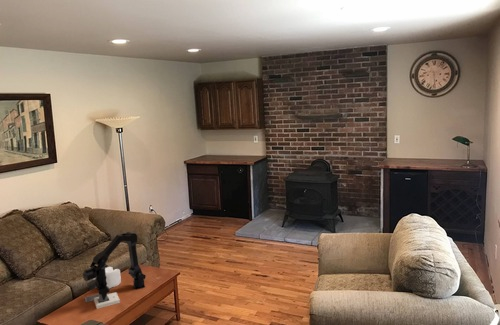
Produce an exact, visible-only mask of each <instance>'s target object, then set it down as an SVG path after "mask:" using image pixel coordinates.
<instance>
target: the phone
mask: <svg viewBox="0 0 500 325" xmlns="http://www.w3.org/2000/svg"><path fill="white" fill-rule="evenodd" d="M108 294H109V293H107V295H108ZM96 297H99V293H97V294H93V295H89V296H85V297H84V301H85V303H89V302H94V298H96Z"/></svg>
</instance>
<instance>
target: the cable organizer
mask: <svg viewBox="0 0 500 325" xmlns="http://www.w3.org/2000/svg"><path fill="white" fill-rule="evenodd" d="M113 268H114V267H112V266H108V267H105V273H106V278H107V279H106V282H107V285H106V286H108V287H109V290H111V288H114V287H117V286H118V285H120V284H121V282H122V278H121V276H122V275H121V270H120V269H119V268H115V269H113ZM95 279H96V278H93V279H92V280H95ZM95 289H98V288H97V287H95Z"/></svg>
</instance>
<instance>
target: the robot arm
mask: <svg viewBox="0 0 500 325" xmlns="http://www.w3.org/2000/svg"><path fill="white" fill-rule="evenodd" d="M122 242H125V243H126V244H127V247H128V254H129V260H130V266H129V267H128V268H127V270H128V275H129V276H131V277H132V279H133V281H132V285H133V288H134V289H135V290H139V289H143V288H146V285H145V279H146V276H147V275H146V274H144V273H143V271H142V267H140V265H139V261H138V253H137V243H138V235H137V233H135V232H131V231H126V232H125V233H124V232H123V233H120V234H118V233H117V234H116V235H115V237H114V238H113V239H112V240H111V242H109V244H107V246H106V247H105V248H104V249H103V250H101V252H98V253H97V254H96V255H95V256H93V257H92V258H93V259H92V262H91V264H90V265H89V268H87V269H84V271H83V273H82V278H83V280H84V281H85V282H88V281H89V282H88V283H86V286H87V288H88V289H89V291H92V290H93V289H97V292H98V293H97V294H101V295H102V298H103V300H105V298H106V295H107V294H109V293H111V292H110V289H109V287H108V286H106V285H107V282H106V279H107V278H106V273H105V268H107V267H109V265H108V264H106V263H107V261H108V260H109V257H110V255H111V254H112V253H113V252H114V250H116V249H117V247H118V246H119V245H120V244H121V243H122ZM93 278H96V279H95V280H93ZM96 287H97V288H96Z"/></svg>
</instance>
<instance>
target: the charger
mask: <svg viewBox="0 0 500 325" xmlns="http://www.w3.org/2000/svg"><path fill="white" fill-rule="evenodd" d="M98 294H99V293H98ZM99 300H100V302H103V301H107V300H108V299H107V295H106V298H105V300H103V298H102V295H101V294H99Z"/></svg>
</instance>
